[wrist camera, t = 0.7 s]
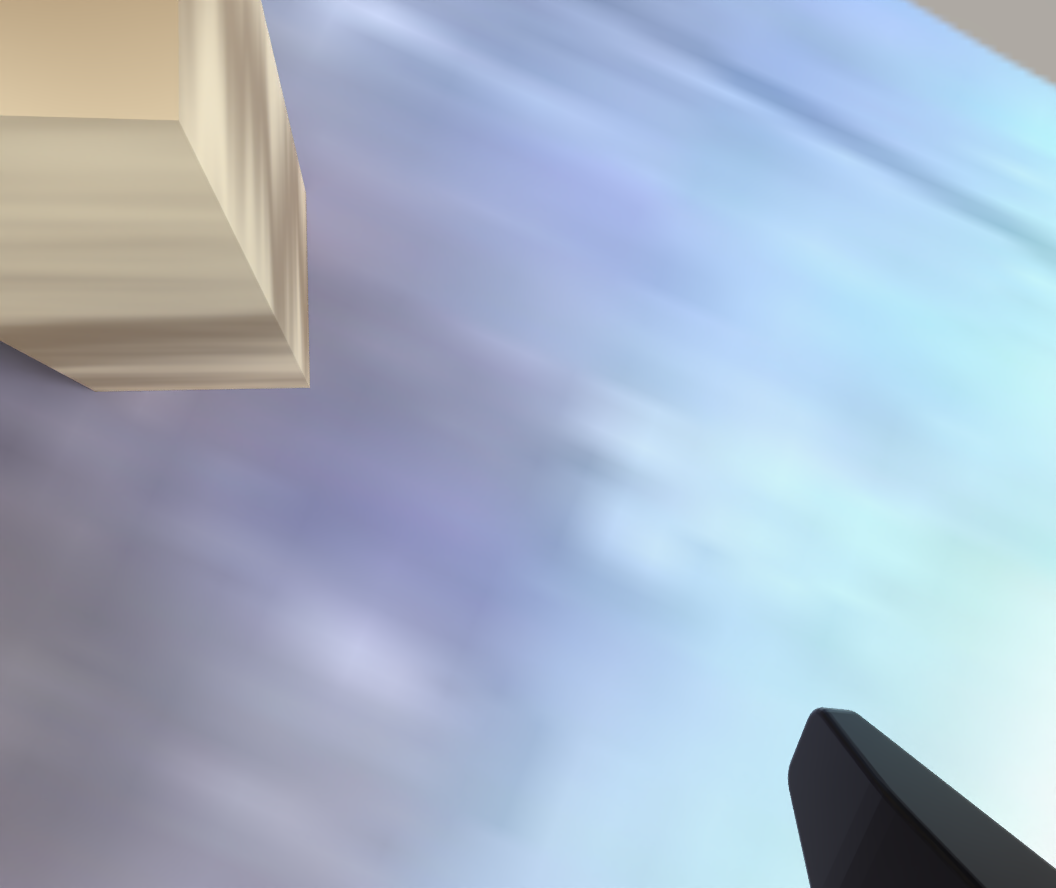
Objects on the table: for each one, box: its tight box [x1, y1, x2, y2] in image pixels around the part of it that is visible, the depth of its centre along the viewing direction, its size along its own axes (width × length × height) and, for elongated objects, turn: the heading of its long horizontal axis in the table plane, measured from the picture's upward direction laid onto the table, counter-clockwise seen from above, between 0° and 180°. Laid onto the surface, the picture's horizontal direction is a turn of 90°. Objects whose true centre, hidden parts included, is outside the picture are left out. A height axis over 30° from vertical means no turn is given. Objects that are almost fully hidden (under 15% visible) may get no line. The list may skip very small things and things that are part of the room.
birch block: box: [0, 0, 310, 392], centre depth 15 cm, size 5×5×14 cm
